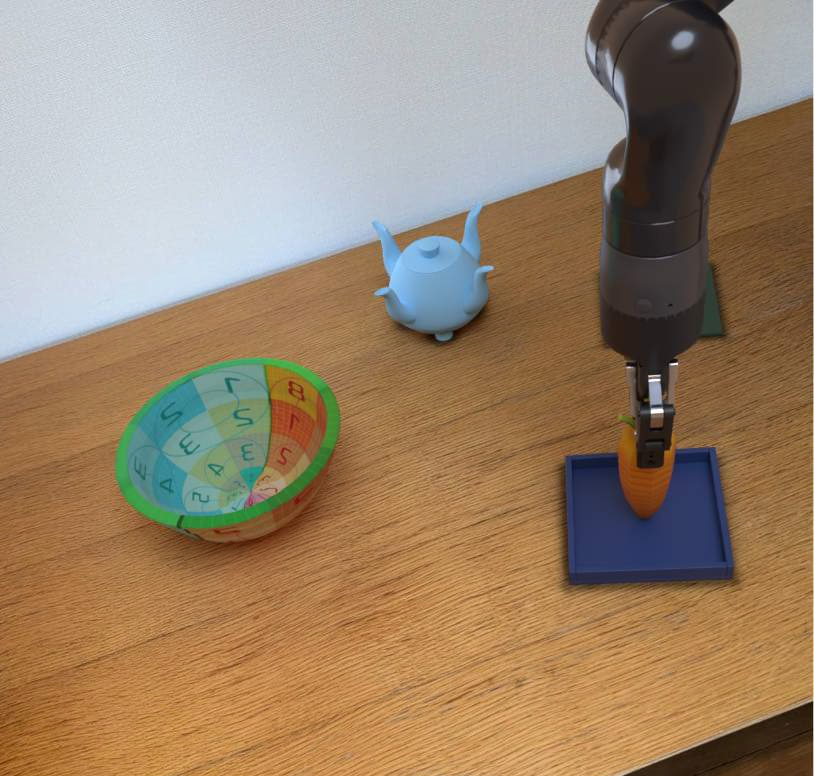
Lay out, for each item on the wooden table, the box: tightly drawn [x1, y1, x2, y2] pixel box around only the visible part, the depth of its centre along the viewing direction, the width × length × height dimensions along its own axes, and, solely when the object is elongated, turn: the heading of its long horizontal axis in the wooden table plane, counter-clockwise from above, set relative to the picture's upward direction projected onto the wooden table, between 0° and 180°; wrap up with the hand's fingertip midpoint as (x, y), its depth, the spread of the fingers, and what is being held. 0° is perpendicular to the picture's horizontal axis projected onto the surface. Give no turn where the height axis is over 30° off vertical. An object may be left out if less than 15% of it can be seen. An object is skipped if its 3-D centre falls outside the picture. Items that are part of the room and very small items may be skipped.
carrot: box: [617, 399, 677, 519], centre depth 87 cm, size 5×5×15 cm
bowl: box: [114, 357, 341, 543], centre depth 99 cm, size 22×22×10 cm
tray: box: [564, 446, 735, 586], centre depth 92 cm, size 14×14×2 cm
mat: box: [699, 262, 724, 338], centre depth 111 cm, size 12×12×1 cm
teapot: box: [371, 202, 495, 342], centre depth 112 cm, size 13×13×10 cm
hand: (647, 440), depth 85 cm, fingers closed on carrot, 5 cm apart
